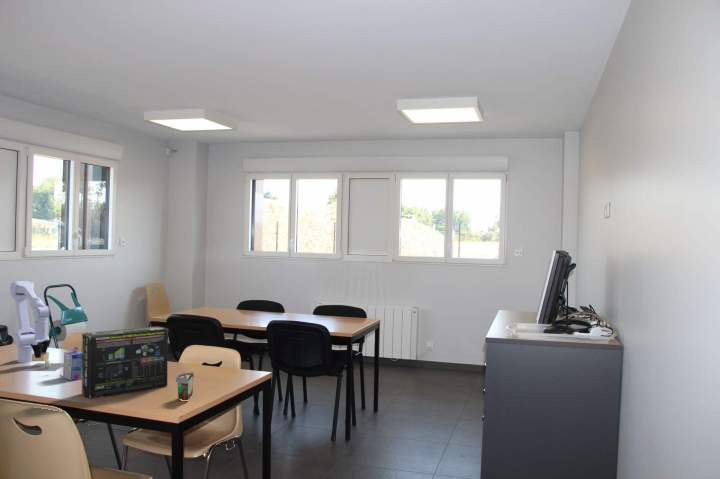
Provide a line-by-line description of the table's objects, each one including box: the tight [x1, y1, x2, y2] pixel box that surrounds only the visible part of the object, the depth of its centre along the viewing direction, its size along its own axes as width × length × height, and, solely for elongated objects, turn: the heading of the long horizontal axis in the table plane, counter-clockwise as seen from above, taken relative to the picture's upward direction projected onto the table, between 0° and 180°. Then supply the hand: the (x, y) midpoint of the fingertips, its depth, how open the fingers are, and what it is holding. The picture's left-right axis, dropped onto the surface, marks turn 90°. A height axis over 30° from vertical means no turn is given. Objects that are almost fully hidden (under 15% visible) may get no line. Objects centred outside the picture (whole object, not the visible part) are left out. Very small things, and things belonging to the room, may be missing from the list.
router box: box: [81, 325, 169, 399], centre depth 257 cm, size 36×11×27 cm, turn 133°
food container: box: [175, 371, 195, 400], centre depth 245 cm, size 12×6×10 cm, turn 5°
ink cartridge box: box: [62, 346, 82, 381], centre depth 276 cm, size 10×6×14 cm, turn 48°
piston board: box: [21, 359, 64, 372], centre depth 293 cm, size 18×16×5 cm
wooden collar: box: [32, 351, 50, 362], centre depth 296 cm, size 6×6×4 cm
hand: (40, 356), depth 296 cm, fingers closed on wooden collar, 6 cm apart
